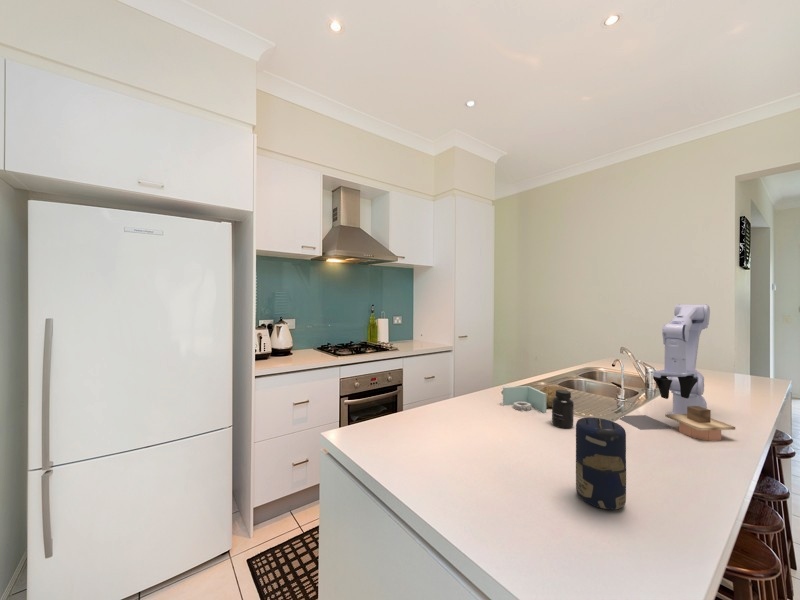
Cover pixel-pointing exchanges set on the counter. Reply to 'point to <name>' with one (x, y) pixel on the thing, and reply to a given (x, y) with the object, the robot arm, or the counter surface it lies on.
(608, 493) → the canister
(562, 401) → the supplement bottle
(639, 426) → the mat
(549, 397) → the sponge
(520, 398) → the teal corner wall
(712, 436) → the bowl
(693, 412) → the lid
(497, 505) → the counter surface
